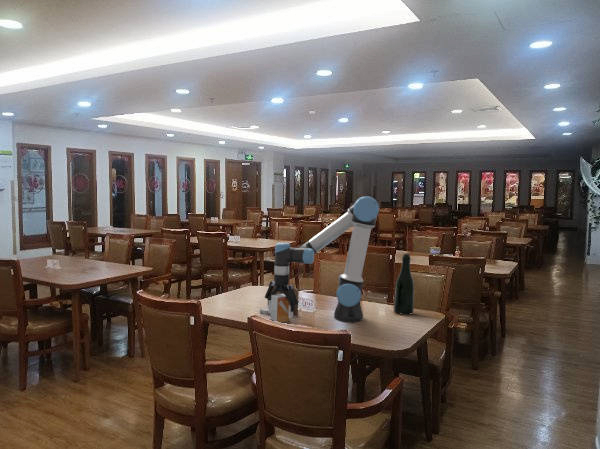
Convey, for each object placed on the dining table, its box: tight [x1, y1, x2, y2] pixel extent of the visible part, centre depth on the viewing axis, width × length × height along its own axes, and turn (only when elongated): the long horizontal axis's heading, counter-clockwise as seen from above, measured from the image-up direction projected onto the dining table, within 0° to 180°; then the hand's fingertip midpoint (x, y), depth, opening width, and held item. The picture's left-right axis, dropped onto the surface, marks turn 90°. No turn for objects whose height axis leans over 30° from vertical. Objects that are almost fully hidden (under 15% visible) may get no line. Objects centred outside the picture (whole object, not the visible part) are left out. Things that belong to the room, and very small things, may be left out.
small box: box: [270, 294, 291, 323], centre depth 238 cm, size 8×6×13 cm
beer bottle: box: [393, 253, 415, 315], centre depth 260 cm, size 10×10×33 cm
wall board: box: [259, 283, 300, 317], centre depth 251 cm, size 20×11×14 cm, turn 51°
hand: (280, 315), depth 238 cm, fingers open, 13 cm apart
